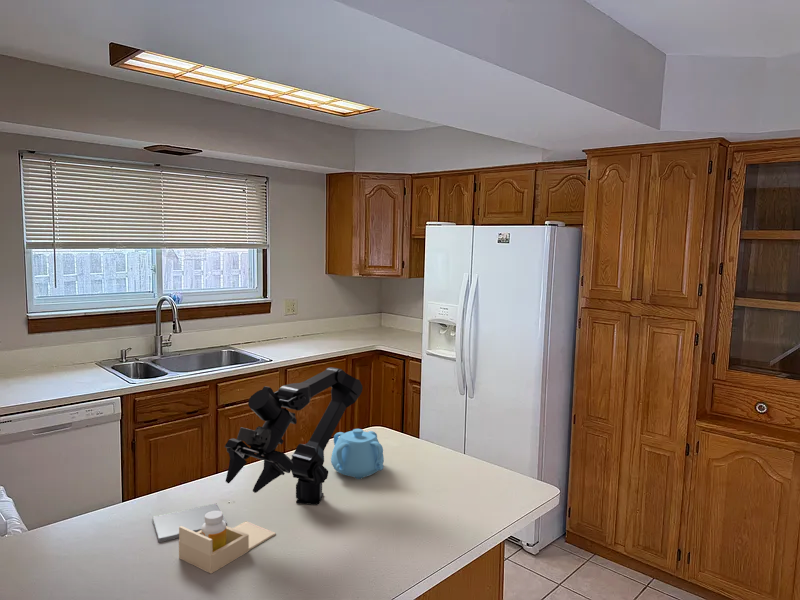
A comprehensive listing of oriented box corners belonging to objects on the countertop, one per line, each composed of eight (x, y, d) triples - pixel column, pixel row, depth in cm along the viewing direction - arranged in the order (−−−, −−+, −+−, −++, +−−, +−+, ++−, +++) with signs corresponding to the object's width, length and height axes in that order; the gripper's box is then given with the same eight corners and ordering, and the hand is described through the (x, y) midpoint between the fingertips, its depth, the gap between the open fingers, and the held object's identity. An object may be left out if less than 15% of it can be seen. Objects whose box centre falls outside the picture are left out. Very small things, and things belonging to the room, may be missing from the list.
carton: (245, 522, 145) (245, 494, 144) (276, 534, 139) (276, 505, 139) (179, 558, 128) (178, 526, 128) (211, 573, 123) (210, 540, 122)
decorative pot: (329, 482, 170) (329, 439, 169) (332, 461, 186) (333, 421, 185) (383, 482, 171) (384, 439, 170) (382, 461, 187) (383, 421, 185)
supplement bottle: (231, 551, 132) (231, 511, 131) (216, 563, 127) (216, 521, 126) (212, 546, 133) (211, 507, 132) (196, 558, 128) (196, 517, 127)
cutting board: (216, 506, 153) (216, 503, 153) (227, 526, 143) (227, 522, 143) (152, 520, 145) (152, 516, 145) (158, 542, 135) (158, 538, 135)
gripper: (230, 407, 143) (194, 463, 135) (284, 420, 133) (250, 482, 125) (253, 429, 151) (220, 483, 142) (307, 443, 141) (275, 502, 133)
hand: (240, 487), depth 135 cm, fingers open, 9 cm apart
